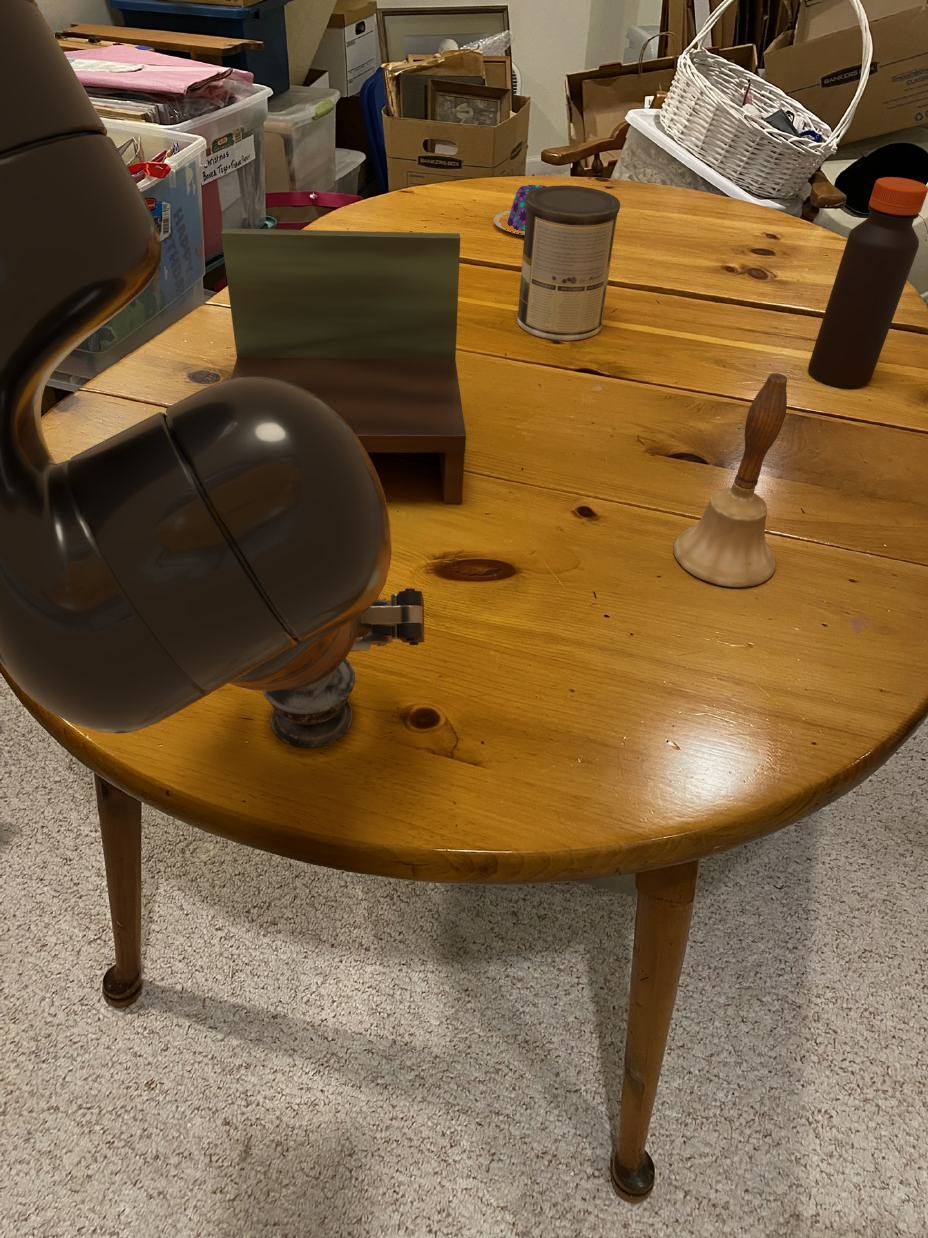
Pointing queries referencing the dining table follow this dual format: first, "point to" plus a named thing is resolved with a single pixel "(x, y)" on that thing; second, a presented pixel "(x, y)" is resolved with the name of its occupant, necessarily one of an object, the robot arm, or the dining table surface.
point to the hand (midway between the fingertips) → (306, 628)
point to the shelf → (357, 330)
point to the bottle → (868, 285)
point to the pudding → (517, 209)
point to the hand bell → (739, 507)
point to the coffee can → (566, 261)
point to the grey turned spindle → (314, 710)
